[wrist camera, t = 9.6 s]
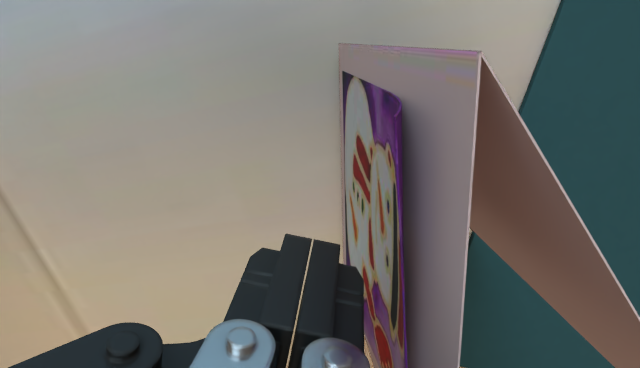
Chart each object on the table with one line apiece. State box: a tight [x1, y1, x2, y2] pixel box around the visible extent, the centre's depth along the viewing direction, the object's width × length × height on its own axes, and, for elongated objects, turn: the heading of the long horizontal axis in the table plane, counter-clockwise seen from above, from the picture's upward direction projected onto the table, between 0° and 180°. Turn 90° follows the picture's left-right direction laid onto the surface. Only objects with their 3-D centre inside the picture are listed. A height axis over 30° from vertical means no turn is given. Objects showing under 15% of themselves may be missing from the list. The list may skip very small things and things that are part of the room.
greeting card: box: [339, 43, 640, 368], centre depth 16 cm, size 11×7×15 cm, turn 3°
